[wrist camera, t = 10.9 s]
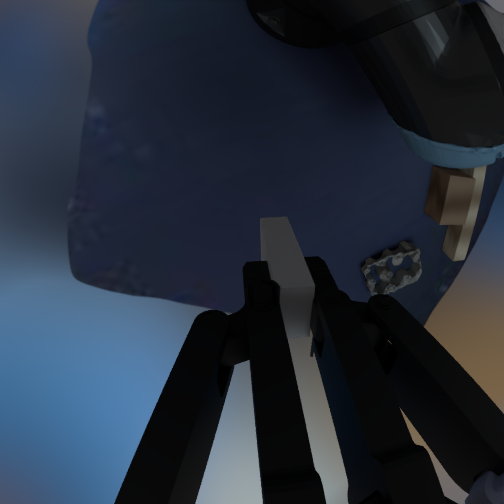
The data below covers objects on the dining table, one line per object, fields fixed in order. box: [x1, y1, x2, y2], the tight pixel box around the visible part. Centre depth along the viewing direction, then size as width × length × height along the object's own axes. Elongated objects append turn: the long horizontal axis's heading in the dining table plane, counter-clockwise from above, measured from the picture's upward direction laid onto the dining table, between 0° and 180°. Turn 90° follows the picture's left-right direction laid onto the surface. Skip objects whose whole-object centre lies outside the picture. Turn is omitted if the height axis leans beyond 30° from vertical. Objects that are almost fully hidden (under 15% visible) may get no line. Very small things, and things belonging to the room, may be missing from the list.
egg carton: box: [361, 240, 422, 296], centre depth 48 cm, size 11×8×4 cm
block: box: [424, 166, 476, 225], centre depth 41 cm, size 8×6×5 cm
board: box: [442, 166, 486, 261], centre depth 41 cm, size 24×3×4 cm, turn 2°
